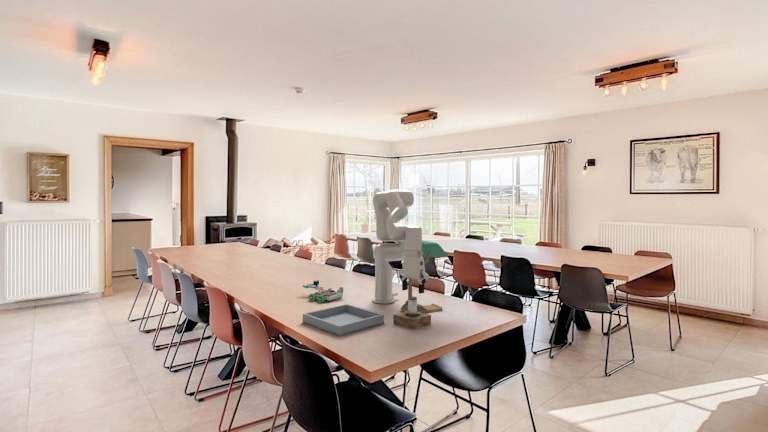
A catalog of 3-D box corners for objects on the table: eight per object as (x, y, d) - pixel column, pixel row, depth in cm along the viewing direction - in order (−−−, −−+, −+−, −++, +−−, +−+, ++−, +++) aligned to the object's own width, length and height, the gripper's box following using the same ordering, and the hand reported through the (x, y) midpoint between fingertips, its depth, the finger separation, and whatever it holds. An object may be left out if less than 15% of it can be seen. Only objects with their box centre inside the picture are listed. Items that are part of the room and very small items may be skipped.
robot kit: (314, 292, 255) (314, 276, 255) (347, 297, 242) (347, 281, 241) (292, 298, 239) (292, 281, 239) (326, 304, 226) (326, 287, 226)
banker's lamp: (397, 309, 218) (398, 240, 216) (431, 304, 227) (432, 239, 226) (413, 316, 204) (414, 244, 202) (448, 312, 213) (450, 242, 212)
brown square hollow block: (410, 318, 201) (410, 309, 201) (430, 323, 193) (430, 315, 193) (393, 323, 193) (393, 314, 193) (413, 329, 184) (413, 320, 184)
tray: (346, 311, 211) (346, 303, 211) (384, 323, 193) (384, 314, 192) (302, 322, 192) (302, 313, 192) (339, 336, 174) (339, 326, 174)
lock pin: (411, 321, 196) (412, 295, 195) (418, 323, 193) (418, 297, 192) (405, 323, 193) (406, 297, 192) (412, 325, 190) (412, 298, 189)
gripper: (433, 254, 188) (433, 293, 188) (404, 251, 200) (404, 287, 200) (422, 255, 182) (422, 295, 183) (393, 252, 195) (393, 289, 195)
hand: (413, 291), depth 192 cm, fingers open, 9 cm apart
